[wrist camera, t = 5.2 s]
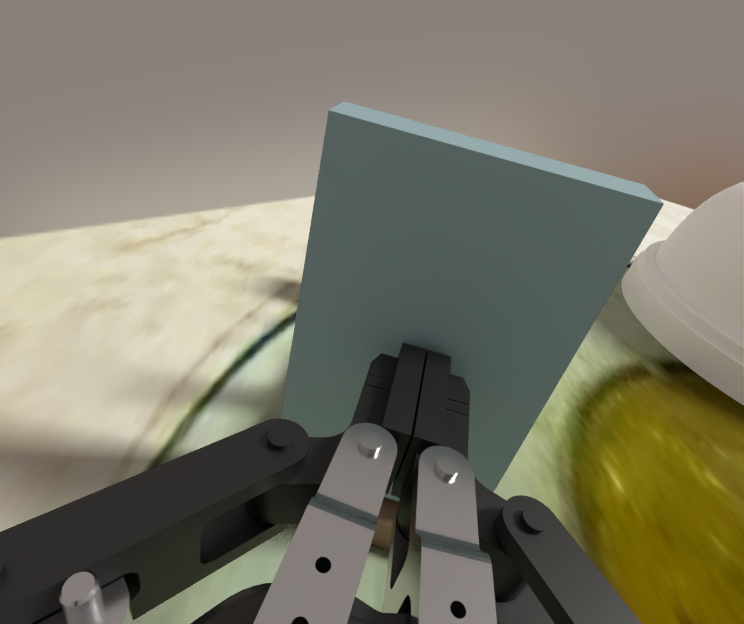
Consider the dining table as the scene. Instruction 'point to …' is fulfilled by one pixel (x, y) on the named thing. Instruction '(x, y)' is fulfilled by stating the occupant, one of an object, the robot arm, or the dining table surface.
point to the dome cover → (697, 291)
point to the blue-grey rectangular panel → (453, 271)
